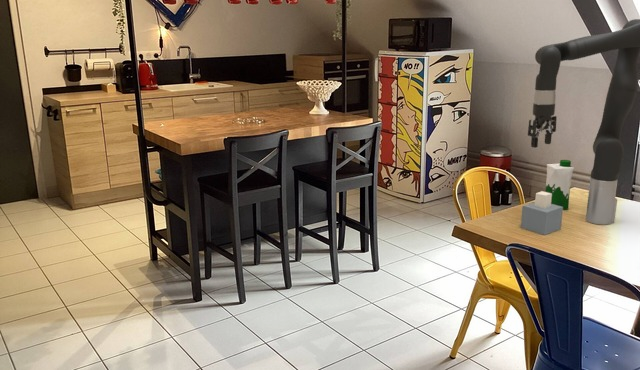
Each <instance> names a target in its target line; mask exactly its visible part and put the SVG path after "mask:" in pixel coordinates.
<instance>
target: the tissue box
mask: <svg viewBox="0 0 640 370" xmlns="http://www.w3.org/2000/svg"><path fill="white" fill-rule="evenodd" d="M551 198H552V194H551V193H547V192H545V191H543V190H541V191H538V192H536V193H535V200H534V201H533V202H529V203H527V204H523V205H522V208H521V218H520V219H521V220H520V229H521V228H522V229H524V230H527V231H530V232H533V233H537V234H539V235H542V236H546V235H549V234H552V233H555V232H557V231H560V230H562V229H561V228H562V221H563V212H564V210H563V207H562V206H558V205H554V204H551Z"/></svg>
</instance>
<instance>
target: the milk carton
mask: <svg viewBox="0 0 640 370" xmlns="http://www.w3.org/2000/svg"><path fill="white" fill-rule="evenodd" d="M571 164H572V161H571V160H569V159H560V162H559V163H552V164H551V163H548V164H546V182H545V183H546V184H545V191H544V192H547V193H551V194H552V198H551V204H554V205H558V206H562V207H563V211H567V210H569V207H570V206H569V204H570V203H569V202H570V194H571V193H570V191H571V186H572V185H571V183H572V176H573V172H574V170H575V167H573V166H572V165H571Z"/></svg>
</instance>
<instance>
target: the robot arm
mask: <svg viewBox="0 0 640 370" xmlns="http://www.w3.org/2000/svg"><path fill="white" fill-rule="evenodd" d="M614 50H617V55H616V60H615V64H614V68H613V70H612V71H613V72H612V75H611V79H610V81H609V86H608V89H607V93H606V97H605V101H604V102H605V103H604V106H603V107H604V108H603V113H602V118H601V123H600V126H599V127H598V130H597V134H596V135H595V138H594V142H593V143H592V150H593V154H594V159H593V160H594V161H593V167H592V170H591V171H590V177H589V185H588V186H589V187H588V188H589V189H588V195H587V204H586V213H585V221H587V222H588V223H591V224H594V225H602V226H603V225H611V224H614V223H615V221H616V212H617V207H618V206H617V205H618V199H617V198H616V195H617V185H618V179H619V174H620V173H621V172H620V171H621V166H622V163H623V155H624V147H623V144H622V143H621V141H620V139H621V132H622V129H623V125H624V123H625V120H626V119H627V117H628V115H629V113H630V112H631V110H632V108H633V106H634V105H633V104H634V103H635V99H636V96H637V92H638V88H639V69H638V63H639V57H640V56H639V55H640V18H635V19H631V20H629V21H627V22H626V23H625V24H624V25H623V27H622V28H621V29H620V30H615V31H611V32H605V33H600V34H592V35H587V36H583V37H578V38H574V39H571V40H568V41H564V42H560V43H553V44H547V45H544V46H542V47H541V46H540V48H538V50H537V51H536V52H535V55H534V58H535V61H536V63H537V64H539V73H538V74H537V75H536V77H535V84H534V85H535V87H534V94H533V100H532V101H533V102H532V103H533V104H532V115H533V116H534V117H535V118H534V119H529V120H528V128H527V136H528V137H530V138H531V141H530V146H531V148H538V146H539V145H538V144H539V137H540V136H539V135H540V134H541V133H542V132H543V131H544V133H545V134H544V144H545V145H550V144H551V143H552V137H553V136H552V135H553V134H554V133H555V132H556V131H557V118H558V117H557V115H555V113H556V100H557V95H556V94H557V92H556V91H557V79H558V78H557V77H558V74H559V70H560V65H561V62H564V61H575V60H580V59H582V58H587V57H592V56H594V55H598V54H602V53H606V52H611V51H614Z"/></svg>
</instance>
